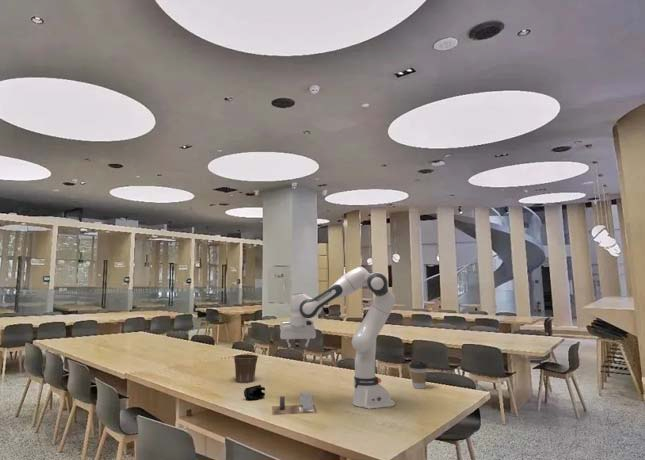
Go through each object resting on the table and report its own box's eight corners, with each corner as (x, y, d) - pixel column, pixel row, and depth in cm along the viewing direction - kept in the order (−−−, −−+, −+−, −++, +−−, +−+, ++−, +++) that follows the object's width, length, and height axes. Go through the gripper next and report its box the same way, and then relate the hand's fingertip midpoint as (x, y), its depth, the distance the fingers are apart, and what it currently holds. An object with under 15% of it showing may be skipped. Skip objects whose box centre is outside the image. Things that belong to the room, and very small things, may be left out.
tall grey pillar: (309, 407, 205) (309, 391, 206) (312, 409, 200) (312, 394, 201) (300, 407, 204) (300, 392, 205) (302, 410, 199) (302, 395, 200)
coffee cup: (429, 390, 243) (428, 364, 245) (410, 389, 246) (409, 364, 248) (428, 385, 254) (427, 361, 257) (409, 385, 257) (409, 360, 259)
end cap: (257, 396, 233) (257, 383, 234) (265, 398, 228) (265, 385, 229) (243, 399, 226) (243, 387, 227) (251, 402, 221) (251, 389, 222)
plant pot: (260, 378, 276) (260, 354, 279) (254, 384, 261) (254, 358, 263) (237, 378, 278) (237, 354, 280) (229, 383, 262) (230, 358, 264)
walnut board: (314, 407, 210) (314, 392, 211) (317, 416, 196) (317, 400, 198) (272, 409, 208) (272, 394, 209) (272, 418, 194) (272, 401, 195)
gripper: (279, 322, 224) (279, 348, 222) (316, 322, 226) (316, 347, 224) (279, 321, 230) (279, 346, 228) (315, 321, 232) (315, 345, 230)
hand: (298, 347), depth 226 cm, fingers open, 8 cm apart
